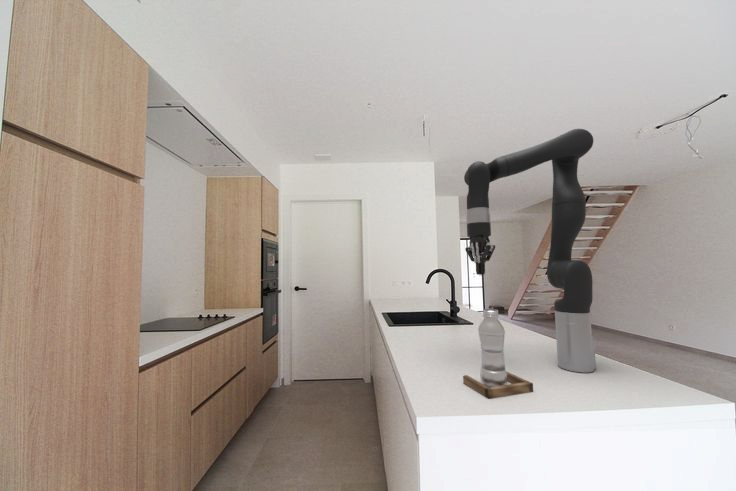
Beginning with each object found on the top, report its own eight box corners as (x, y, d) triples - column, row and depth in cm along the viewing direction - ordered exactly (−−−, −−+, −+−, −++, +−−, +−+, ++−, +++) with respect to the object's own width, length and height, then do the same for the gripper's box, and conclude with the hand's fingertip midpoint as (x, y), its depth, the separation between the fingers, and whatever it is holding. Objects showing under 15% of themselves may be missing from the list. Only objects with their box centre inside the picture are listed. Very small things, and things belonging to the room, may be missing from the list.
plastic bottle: (510, 392, 75) (507, 311, 76) (482, 390, 76) (478, 311, 78) (505, 383, 81) (501, 308, 82) (478, 381, 82) (475, 308, 84)
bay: (504, 377, 85) (503, 370, 85) (533, 391, 75) (532, 383, 76) (463, 383, 81) (463, 375, 81) (488, 398, 72) (488, 390, 72)
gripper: (501, 220, 95) (504, 274, 94) (475, 225, 108) (477, 274, 106) (481, 219, 93) (484, 275, 92) (457, 225, 105) (459, 274, 104)
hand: (480, 274), depth 99 cm, fingers closed
